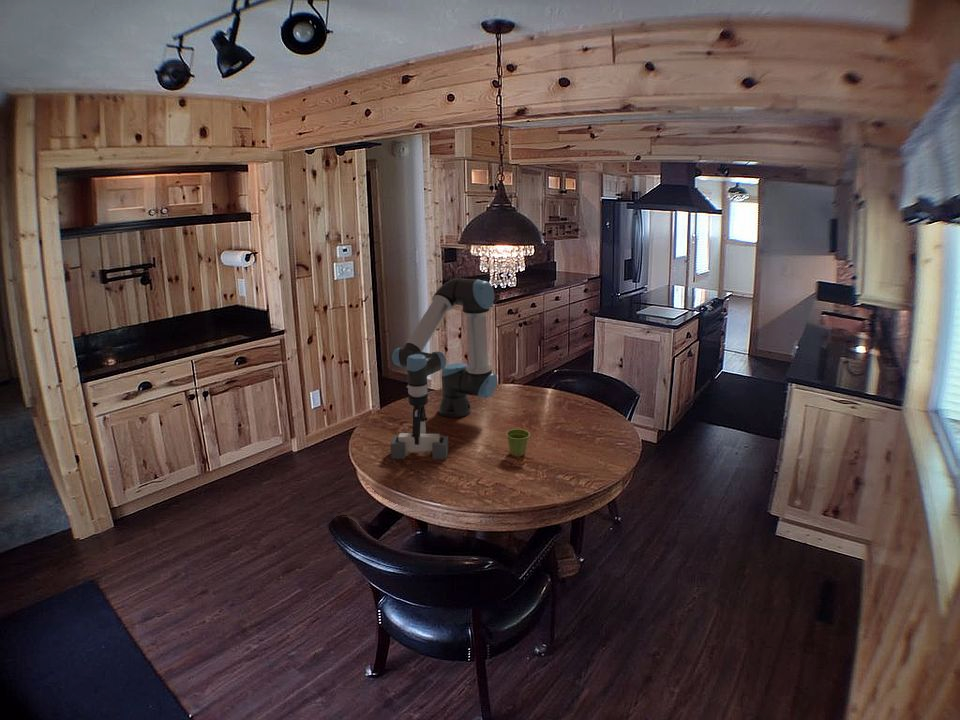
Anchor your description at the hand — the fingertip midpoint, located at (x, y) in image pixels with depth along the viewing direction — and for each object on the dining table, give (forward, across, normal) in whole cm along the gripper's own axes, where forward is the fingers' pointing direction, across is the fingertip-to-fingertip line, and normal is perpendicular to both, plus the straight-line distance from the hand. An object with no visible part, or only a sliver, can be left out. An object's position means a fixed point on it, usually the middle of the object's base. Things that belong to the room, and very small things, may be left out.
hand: (420, 443), depth 238 cm
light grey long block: (+2, 0, 0) cm, 2 cm away
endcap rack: (+5, 0, 0) cm, 5 cm away
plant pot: (+5, -2, +39) cm, 40 cm away
